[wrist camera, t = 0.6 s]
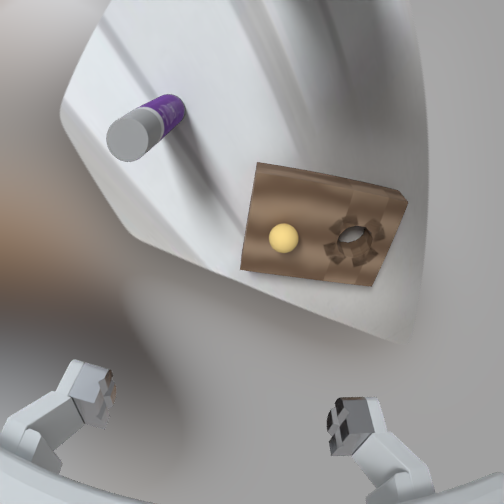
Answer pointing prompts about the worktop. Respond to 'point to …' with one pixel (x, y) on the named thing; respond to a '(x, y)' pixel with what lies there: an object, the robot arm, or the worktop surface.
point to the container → (144, 127)
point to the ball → (283, 238)
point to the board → (320, 225)
